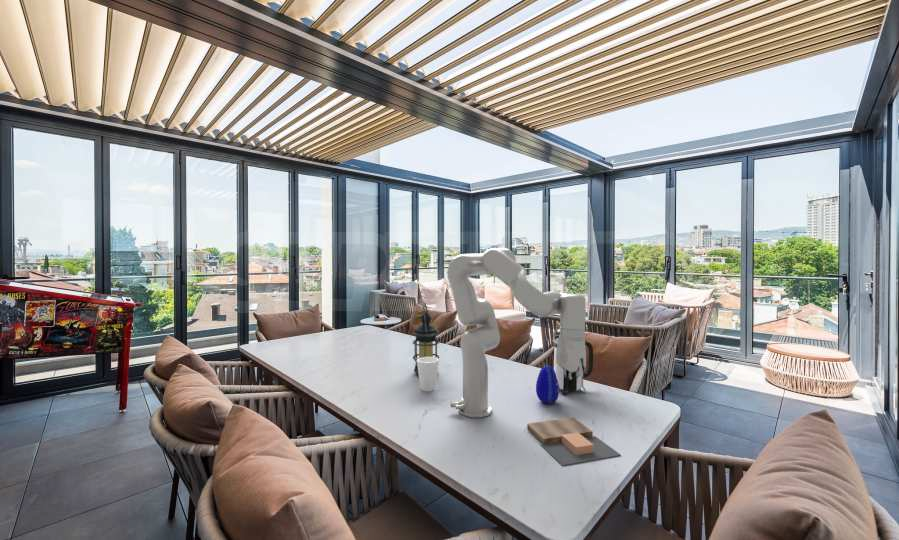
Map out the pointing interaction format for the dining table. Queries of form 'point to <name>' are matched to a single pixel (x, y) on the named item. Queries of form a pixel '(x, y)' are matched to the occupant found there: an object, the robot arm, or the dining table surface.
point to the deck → (557, 429)
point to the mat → (569, 457)
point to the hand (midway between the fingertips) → (570, 390)
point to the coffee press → (560, 371)
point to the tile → (577, 443)
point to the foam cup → (427, 372)
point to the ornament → (547, 385)
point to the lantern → (425, 338)
